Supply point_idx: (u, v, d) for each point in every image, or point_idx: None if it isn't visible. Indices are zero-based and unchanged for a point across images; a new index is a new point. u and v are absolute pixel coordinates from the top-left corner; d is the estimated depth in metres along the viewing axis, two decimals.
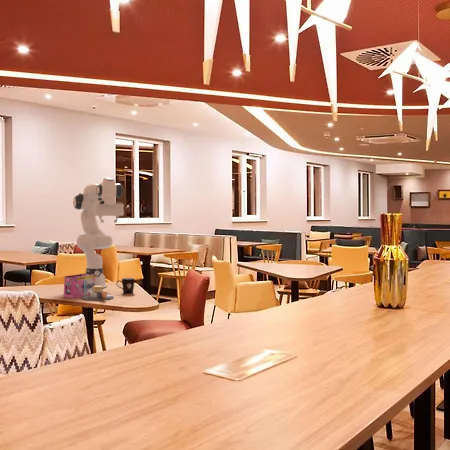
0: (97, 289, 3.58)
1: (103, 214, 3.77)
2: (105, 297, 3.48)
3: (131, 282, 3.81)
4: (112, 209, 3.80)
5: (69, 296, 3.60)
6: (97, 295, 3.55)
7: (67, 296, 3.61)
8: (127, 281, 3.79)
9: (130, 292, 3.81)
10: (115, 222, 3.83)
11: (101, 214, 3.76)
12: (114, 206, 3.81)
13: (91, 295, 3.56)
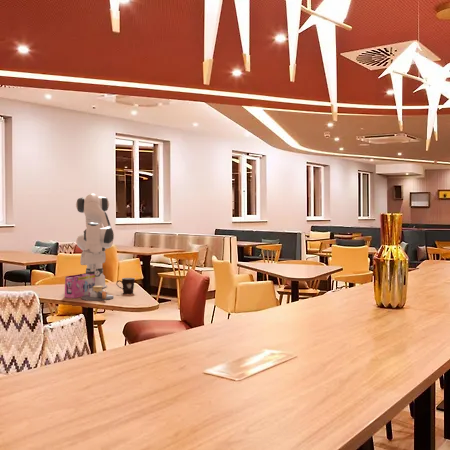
0: (97, 289, 3.58)
1: None
2: (105, 297, 3.48)
3: (131, 282, 3.81)
4: None
5: (70, 296, 3.60)
6: (97, 295, 3.55)
7: (68, 296, 3.61)
8: (127, 281, 3.79)
9: (130, 292, 3.81)
10: None
11: None
12: None
13: (91, 295, 3.56)
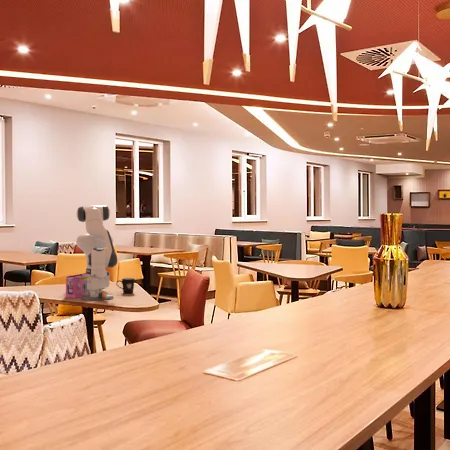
0: None
1: None
2: (105, 297, 3.49)
3: (131, 282, 3.81)
4: None
5: (71, 296, 3.60)
6: None
7: (69, 296, 3.61)
8: (127, 281, 3.79)
9: (130, 292, 3.81)
10: (97, 295, 3.50)
11: None
12: None
13: (91, 295, 3.56)
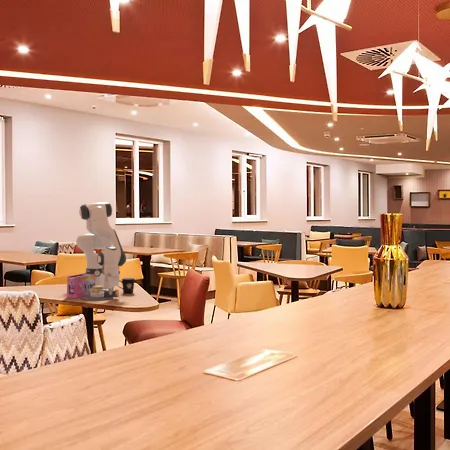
0: (97, 289, 3.58)
1: None
2: (118, 295, 3.58)
3: (131, 282, 3.81)
4: None
5: (72, 296, 3.61)
6: (104, 294, 3.58)
7: (70, 296, 3.61)
8: (127, 281, 3.79)
9: (130, 292, 3.81)
10: (110, 294, 3.56)
11: None
12: None
13: (98, 295, 3.55)
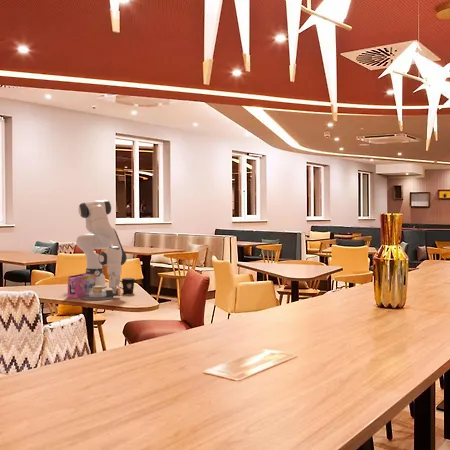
0: (97, 289, 3.58)
1: None
2: None
3: (131, 282, 3.81)
4: None
5: (73, 296, 3.61)
6: (106, 294, 3.60)
7: (71, 296, 3.61)
8: (127, 281, 3.79)
9: (130, 292, 3.81)
10: None
11: None
12: None
13: (102, 295, 3.57)
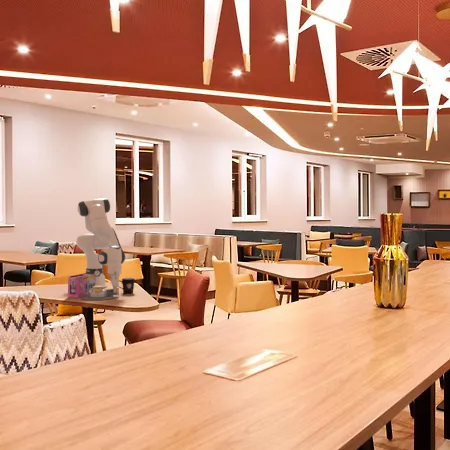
0: (97, 289, 3.58)
1: (111, 283, 3.68)
2: None
3: (131, 282, 3.81)
4: (112, 279, 3.61)
5: (74, 296, 3.61)
6: (106, 293, 3.62)
7: (71, 296, 3.61)
8: (127, 281, 3.79)
9: (130, 292, 3.81)
10: None
11: (111, 283, 3.69)
12: (112, 276, 3.60)
13: (104, 295, 3.58)
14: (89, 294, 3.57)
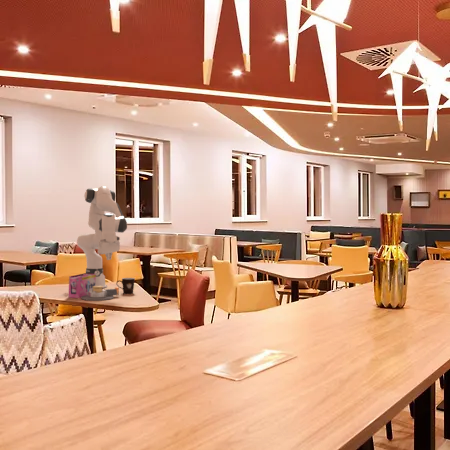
0: (97, 289, 3.58)
1: None
2: None
3: (131, 282, 3.81)
4: None
5: (74, 296, 3.61)
6: (106, 293, 3.62)
7: (72, 296, 3.61)
8: (127, 281, 3.79)
9: (130, 292, 3.81)
10: (107, 259, 3.67)
11: None
12: None
13: (104, 295, 3.58)
14: (89, 294, 3.57)
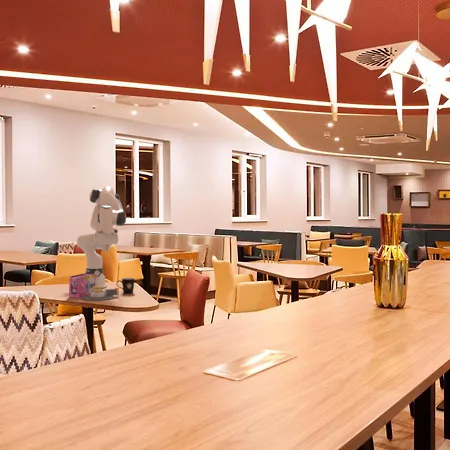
0: (97, 289, 3.58)
1: None
2: None
3: (131, 282, 3.81)
4: None
5: (75, 296, 3.61)
6: (106, 293, 3.62)
7: (73, 296, 3.61)
8: (127, 281, 3.79)
9: (130, 292, 3.81)
10: None
11: None
12: None
13: (104, 295, 3.58)
14: (89, 294, 3.57)
